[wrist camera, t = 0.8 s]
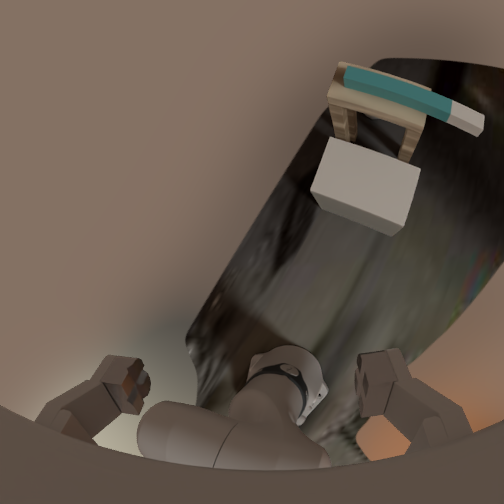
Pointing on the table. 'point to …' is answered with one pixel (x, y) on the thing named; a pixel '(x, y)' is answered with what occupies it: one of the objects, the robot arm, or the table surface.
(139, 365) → the robot arm
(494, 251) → the table surface
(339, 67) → the wooden stand
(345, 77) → the marker
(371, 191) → the white rectangular block
